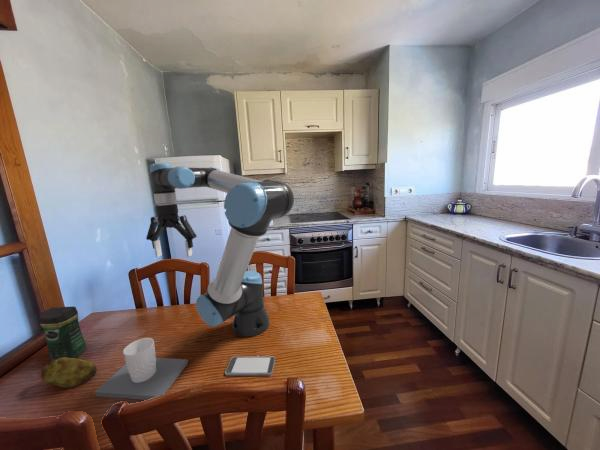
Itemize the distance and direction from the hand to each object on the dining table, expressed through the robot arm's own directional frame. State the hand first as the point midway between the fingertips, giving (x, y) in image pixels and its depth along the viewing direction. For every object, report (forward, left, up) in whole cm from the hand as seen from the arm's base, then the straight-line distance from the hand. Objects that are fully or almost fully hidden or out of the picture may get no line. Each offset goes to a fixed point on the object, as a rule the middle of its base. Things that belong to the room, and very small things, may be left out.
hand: (174, 255), depth 99 cm
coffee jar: (+32, +21, -31) cm, 49 cm away
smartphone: (-37, +22, -31) cm, 53 cm away
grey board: (-5, +29, -31) cm, 43 cm away
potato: (+18, +32, -31) cm, 48 cm away
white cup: (-5, +29, -29) cm, 42 cm away
